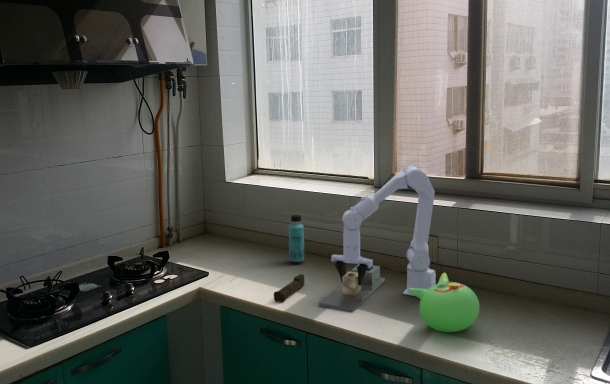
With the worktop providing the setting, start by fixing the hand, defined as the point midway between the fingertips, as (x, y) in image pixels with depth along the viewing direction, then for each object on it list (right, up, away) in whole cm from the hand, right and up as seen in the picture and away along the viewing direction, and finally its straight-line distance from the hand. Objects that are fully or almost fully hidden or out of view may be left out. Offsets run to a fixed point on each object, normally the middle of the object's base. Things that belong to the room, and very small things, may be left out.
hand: (351, 283), depth 194 cm
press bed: (+1, -4, +2) cm, 4 cm away
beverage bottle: (-20, +2, +36) cm, 41 cm away
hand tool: (-21, -4, +4) cm, 22 cm away
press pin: (+6, +3, +11) cm, 13 cm away
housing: (0, -3, 0) cm, 3 cm away
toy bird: (+26, -9, -27) cm, 39 cm away
